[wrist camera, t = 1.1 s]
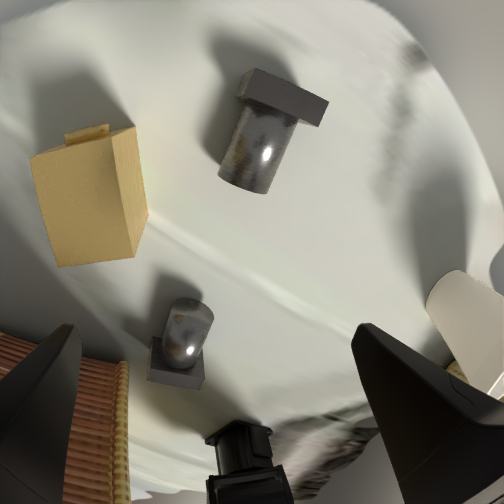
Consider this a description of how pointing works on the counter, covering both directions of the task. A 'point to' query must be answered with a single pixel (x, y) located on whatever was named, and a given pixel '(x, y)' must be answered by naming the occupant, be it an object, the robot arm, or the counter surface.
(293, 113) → the shaft
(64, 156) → the tan block
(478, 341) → the foam cup
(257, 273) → the counter surface
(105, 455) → the picnic basket
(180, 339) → the shaft
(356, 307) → the counter surface
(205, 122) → the counter surface
